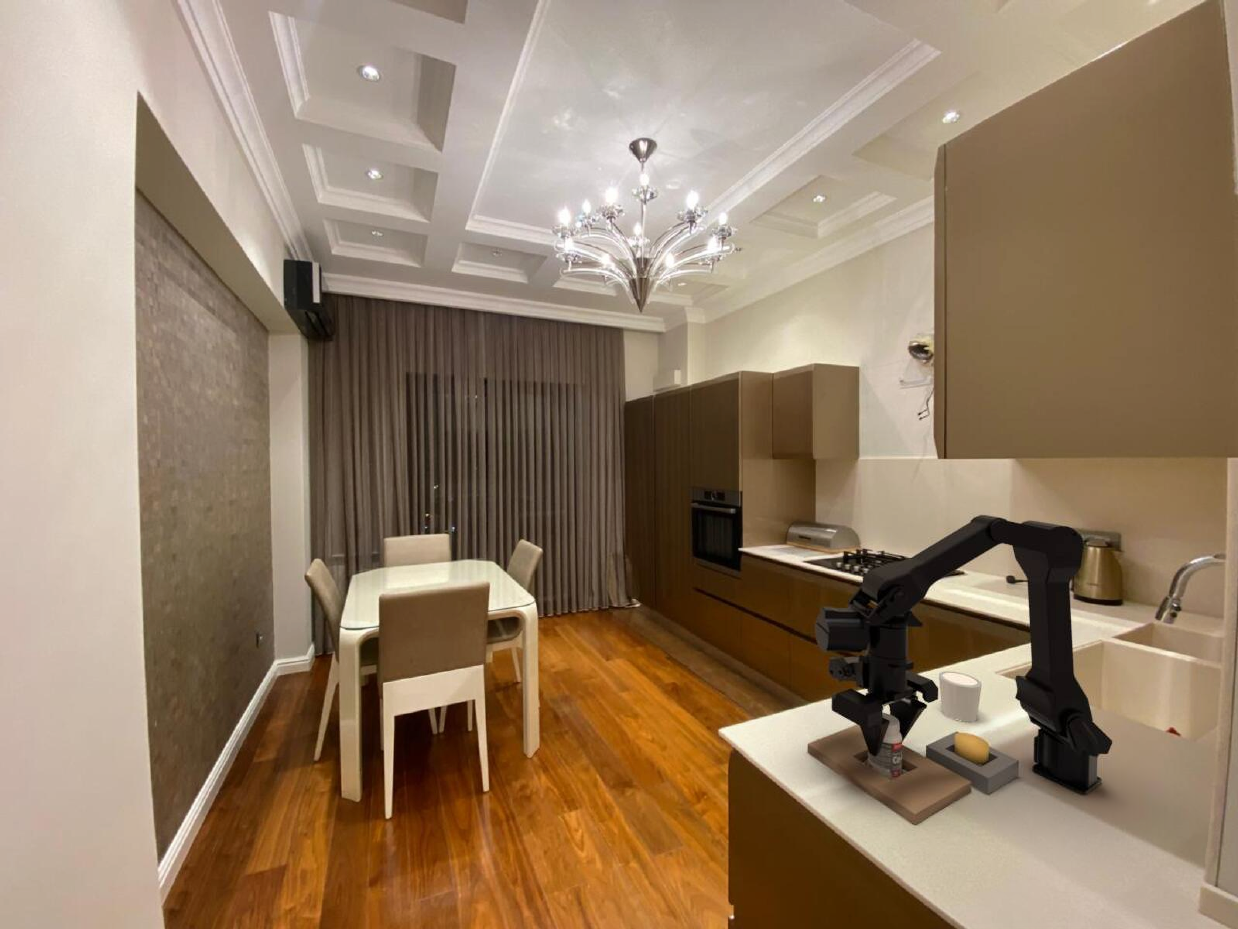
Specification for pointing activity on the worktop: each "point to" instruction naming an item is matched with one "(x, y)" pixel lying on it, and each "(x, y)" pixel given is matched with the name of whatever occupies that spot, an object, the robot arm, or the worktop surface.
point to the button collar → (974, 765)
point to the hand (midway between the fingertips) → (885, 749)
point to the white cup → (959, 695)
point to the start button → (972, 748)
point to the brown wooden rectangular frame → (906, 794)
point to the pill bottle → (889, 751)
